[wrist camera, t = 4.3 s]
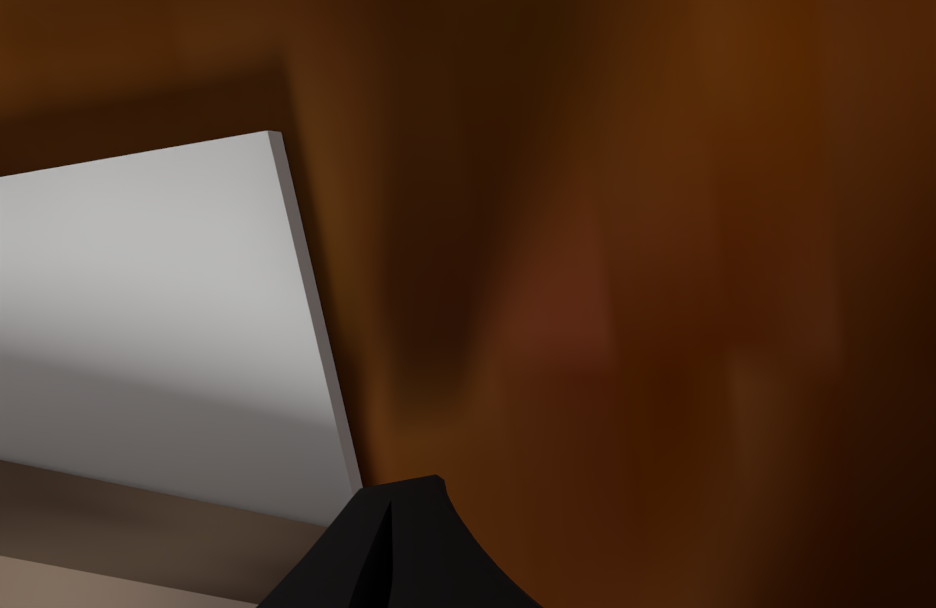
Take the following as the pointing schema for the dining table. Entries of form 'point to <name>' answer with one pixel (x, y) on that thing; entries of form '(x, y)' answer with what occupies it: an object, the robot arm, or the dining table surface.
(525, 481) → the dining table surface
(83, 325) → the wall board
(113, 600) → the frame
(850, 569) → the dining table surface
